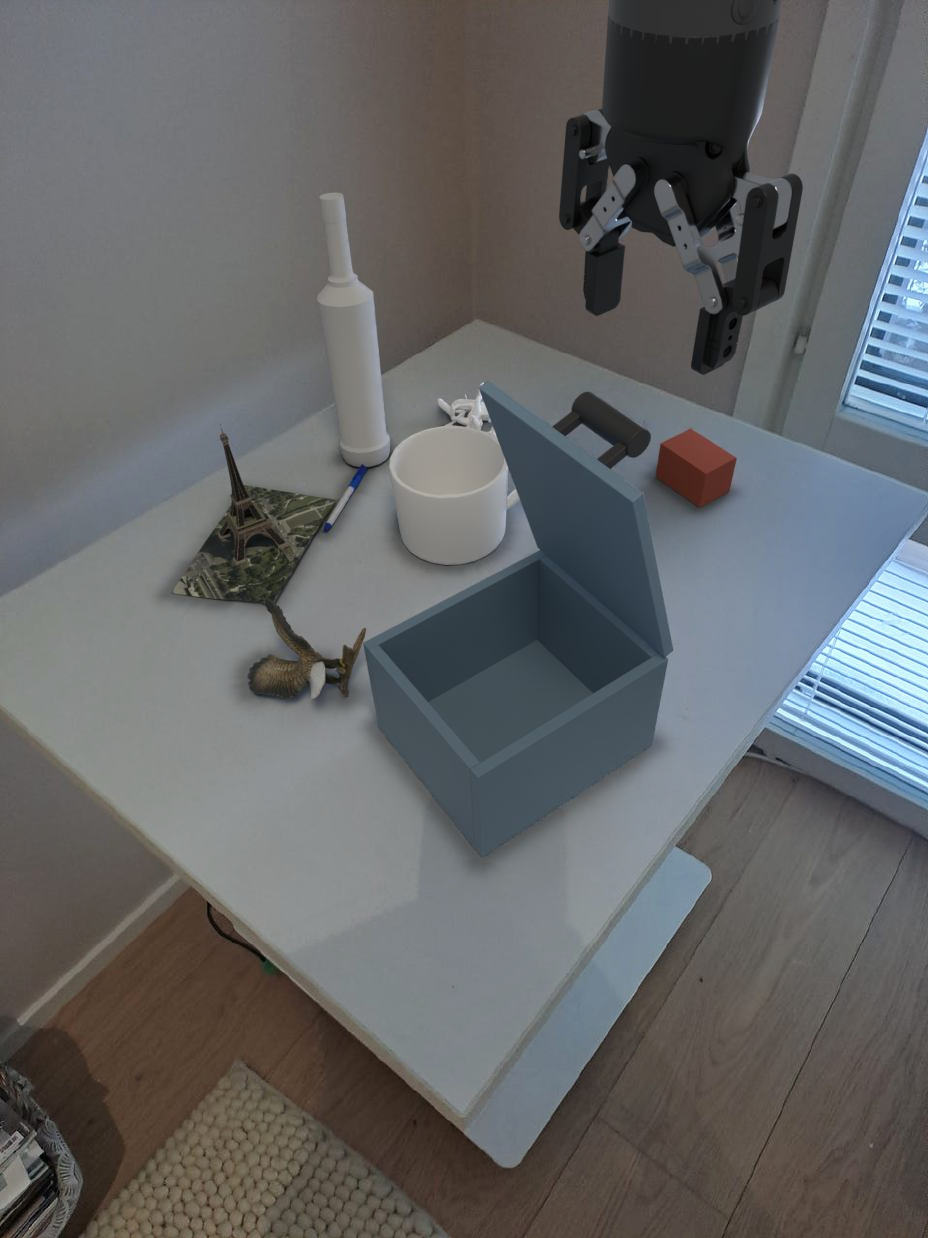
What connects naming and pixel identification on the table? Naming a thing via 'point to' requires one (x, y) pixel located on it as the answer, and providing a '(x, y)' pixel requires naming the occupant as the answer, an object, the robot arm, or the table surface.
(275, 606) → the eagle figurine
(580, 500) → the box lid
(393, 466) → the mug
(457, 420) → the figurine
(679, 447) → the terracotta brick block
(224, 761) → the table surface
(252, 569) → the eiffel tower figurine
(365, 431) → the bottle
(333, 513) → the ballpoint pen
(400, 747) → the blue-grey box
